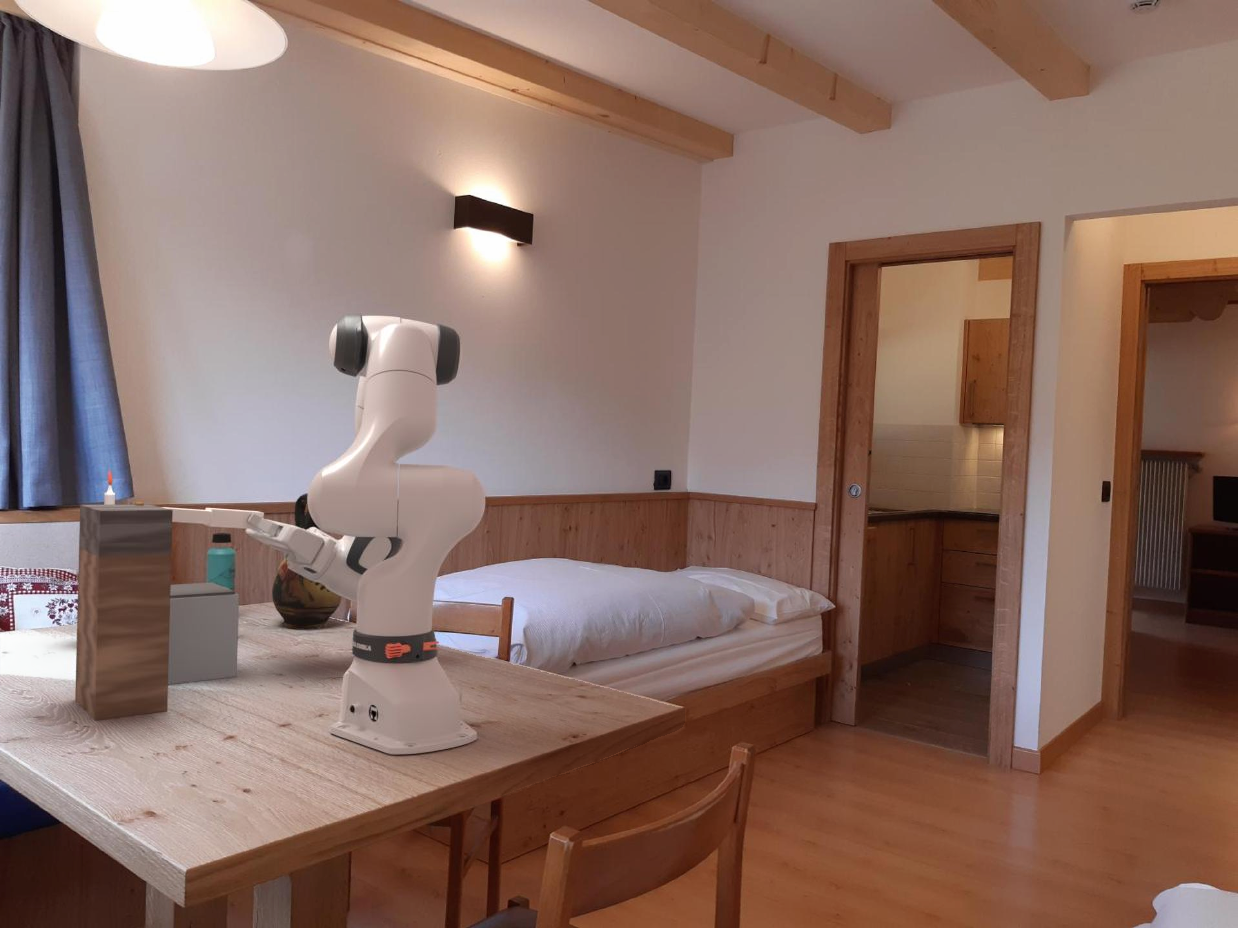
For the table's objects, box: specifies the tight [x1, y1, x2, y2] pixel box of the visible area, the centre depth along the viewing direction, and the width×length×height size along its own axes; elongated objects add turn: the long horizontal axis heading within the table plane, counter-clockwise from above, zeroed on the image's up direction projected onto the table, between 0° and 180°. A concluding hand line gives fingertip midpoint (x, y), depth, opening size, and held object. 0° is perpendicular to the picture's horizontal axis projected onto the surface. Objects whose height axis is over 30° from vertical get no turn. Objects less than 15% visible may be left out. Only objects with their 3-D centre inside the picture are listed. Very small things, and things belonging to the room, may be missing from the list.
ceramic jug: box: [271, 492, 343, 630], centre depth 226 cm, size 17×15×30 cm
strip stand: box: [74, 502, 173, 721], centre depth 154 cm, size 14×10×31 cm
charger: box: [161, 506, 265, 530], centre depth 172 cm, size 4×16×3 cm, turn 129°
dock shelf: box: [168, 582, 240, 685], centre depth 175 cm, size 14×16×15 cm
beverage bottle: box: [205, 532, 237, 591], centre depth 229 cm, size 6×7×20 cm
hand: (244, 516), depth 176 cm, fingers closed on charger, 4 cm apart
